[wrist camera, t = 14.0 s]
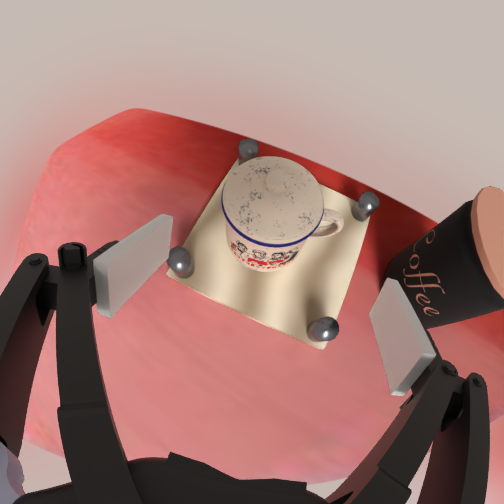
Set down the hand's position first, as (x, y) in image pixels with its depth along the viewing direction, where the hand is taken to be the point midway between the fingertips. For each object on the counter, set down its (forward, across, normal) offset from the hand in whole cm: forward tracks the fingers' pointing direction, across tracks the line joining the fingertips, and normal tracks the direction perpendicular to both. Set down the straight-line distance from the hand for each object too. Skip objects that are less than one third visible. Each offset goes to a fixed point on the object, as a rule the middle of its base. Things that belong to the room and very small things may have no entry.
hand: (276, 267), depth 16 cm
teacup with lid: (+16, 0, -4) cm, 17 cm away
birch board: (+17, 0, -5) cm, 18 cm away
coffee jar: (+16, +19, -6) cm, 26 cm away
